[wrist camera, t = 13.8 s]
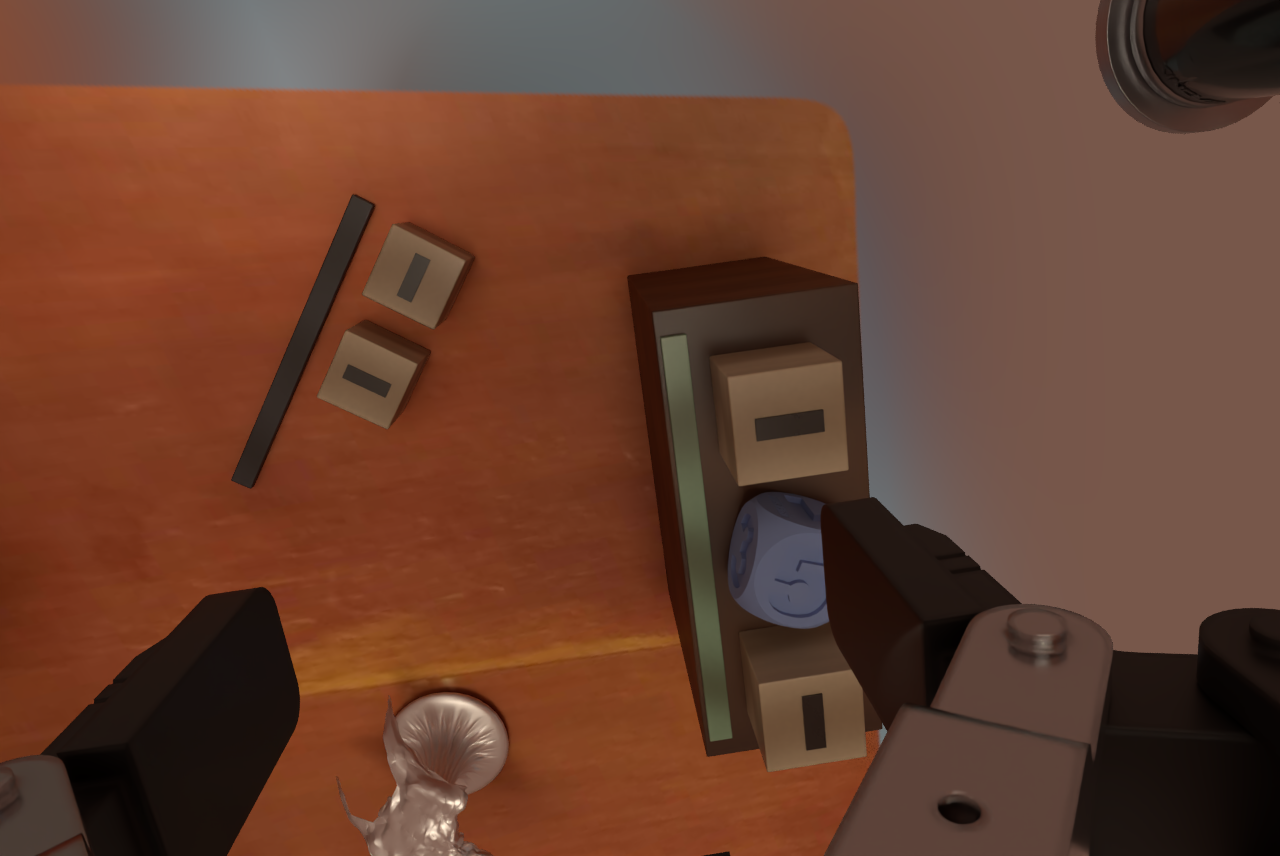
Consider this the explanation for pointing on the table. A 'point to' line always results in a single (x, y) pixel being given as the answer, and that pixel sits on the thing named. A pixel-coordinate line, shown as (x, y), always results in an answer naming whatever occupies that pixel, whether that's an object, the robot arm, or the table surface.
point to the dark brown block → (753, 485)
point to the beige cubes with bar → (364, 329)
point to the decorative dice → (779, 560)
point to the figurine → (434, 774)
